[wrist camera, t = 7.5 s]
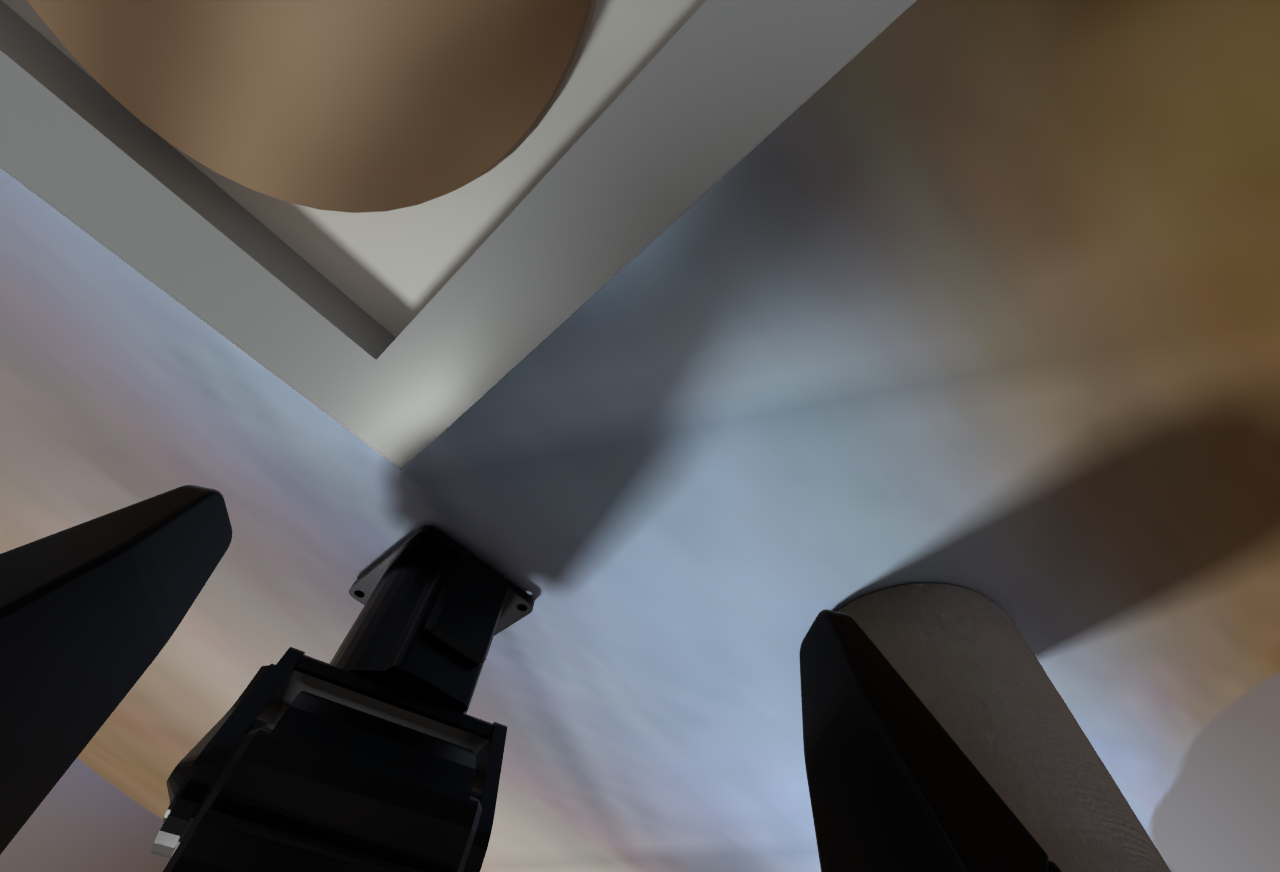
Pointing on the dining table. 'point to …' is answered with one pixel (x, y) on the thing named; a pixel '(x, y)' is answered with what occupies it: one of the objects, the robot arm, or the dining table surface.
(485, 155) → the dial
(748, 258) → the dining table surface
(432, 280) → the dial plate
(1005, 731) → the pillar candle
